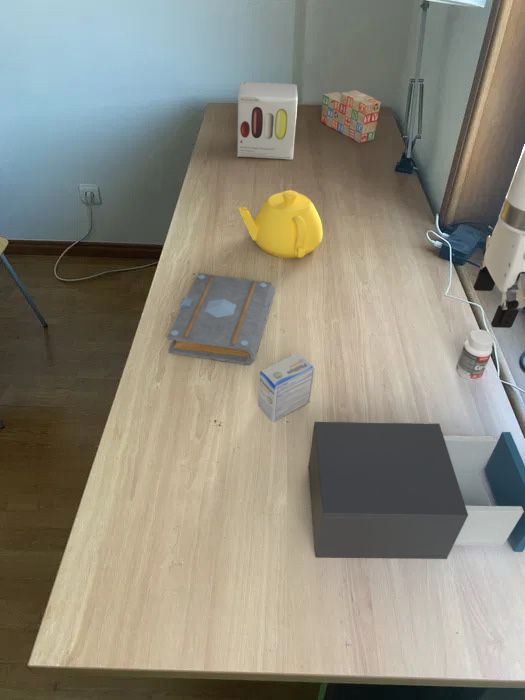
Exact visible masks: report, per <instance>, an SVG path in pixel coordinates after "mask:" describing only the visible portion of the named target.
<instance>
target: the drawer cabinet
mask: <svg viewBox="0 0 525 700" xmlns="http://www.w3.org/2000/svg"><path fill="white" fill-rule="evenodd" d="M443 436H444V433H443V431H442V428H441V424H440V423H433V422H432V423H429V422H428V423H427V422H425V423H424V422H368V421H367V422H366V421H365V422H364V421H363V422H362V421H360V422H359V421H314V423H313V430H312V437H311V444H310V452H309V459H308V466H307V469H308V470H307V471H308V482H309V495H310V505H311V506H310V509H311V519H312V520H311V521H312V531H313V544H314V545H313V547H314V557H315V558H316V559H317V558H319V559H320V558H321V559H323V558H325V559H407V560H408V559H409V560H410V559H414V560H415V559H419V560H420V559H421V560H424V559H425V560H428V559H429V560H432V559H433V560H437V559H438V560H447V559H448V557H449V555H450V553H451V551H452V549H453V547H454V546H455V545H454V543H455V541H456V539H457V537H458V535H459V533H460V531H461V529H462V527H463V525H464V523H465V521H466V519H467V517H468V513H467V510H466V507H465V503H464V500H463V497H462V494H461V491H460V488H459V484H458V481H457V478H456V475H455V472H454V468H453V465H452V462H451V459H450V456H449V453H448V449H447V446H446V443H445V440H444V437H443Z"/></svg>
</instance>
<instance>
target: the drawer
mask: <svg viewBox="0 0 525 700" xmlns="http://www.w3.org/2000/svg"><path fill="white" fill-rule="evenodd" d="M443 437H444V440H445V443H446V446H447V449H448V453H449V456H450V459H451V462H452V465H453V468H454V472H455V475H456V478H457V481H458V484H459V488H460V491H461V494H462V497H463V500H464V503H465V507H466V510H467V513H468V517H467V519H466V521H465V523H464V525H463V527H462V529H461V531H460V533H459V535H458V537H457V539H456V541H455V543H454V545H453V546H485V547H486V546H487V547H488V546H489V547H490V546H491V547H493V546H494V547H495V546H496V547H497V546H498V547H503V546H504V545H505V543H506V541H507V540H509V542H510V546H511V549H512V551H513V553H523V552H524V551H525V463H524V460H523V458H522V456H521V453H520V451H519V449H518V447H517V444H516V442H515V439H514V437H513V435H512V432H511V431H501V434H500V435H499V437H498V439H497V442H496V438H495V436H493V435H492V436H489V435H486V436H484V435H482V436H481V435H443ZM494 445H495V446H494ZM492 449H493V450H492ZM488 457H489V458H488ZM487 459H488V460H487ZM485 464H486V465H485ZM482 470H483V471H484V473H485V476H486V479H487V482H488V484H489V488H490V490H491V493H492V496H493V499H494V501H495V504H496V505H492V503H491V500H490V497H489V494H488V492H487V489H486V486H485V483H484V480H483V478H482V475H481V472H482Z"/></svg>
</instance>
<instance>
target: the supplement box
mask: <svg viewBox="0 0 525 700" xmlns="http://www.w3.org/2000/svg"><path fill="white" fill-rule="evenodd" d="M238 90H239V91H238V96H237V97H238V98H237V100H238V101H237V147H236V149H237V150H236V151H237V152H236V156H237V158H239V157H240V158H260V159H273V160H290V161H293V160H294V150H295V137H296V126H297V114H298V113H297V112H298V100H299V99H298V84H297V83H296V84H295V83H278V82H260V81H259V82H258V81H257V82H256V81H255V82H254V81H240V83H239V89H238Z"/></svg>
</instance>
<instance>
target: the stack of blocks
mask: <svg viewBox="0 0 525 700" xmlns="http://www.w3.org/2000/svg"><path fill="white" fill-rule="evenodd" d="M381 103H382V102H381V101H380V100H378V99H375V97H373V96H371V95H368V94H366V93H363V92H361V91H358V90H357V89H353V90H349V91H344V92H339V91H334V92H329V93H324V94H322V102H321V104H322V106H321V117H320V122H321V123H322V124H324V125H326V126H327V127H329V128H331V129H333V130H335V131H337V132H338V133H341V134H342V135H344V136H346V137H348V138H349V139H351V140H353V141H355V142H357V143H358V144H364V143H367V142H372V141H374V140H375V137H376V132H377V131H376V130H377V125H378V121H379V115H380V109H381Z"/></svg>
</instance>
